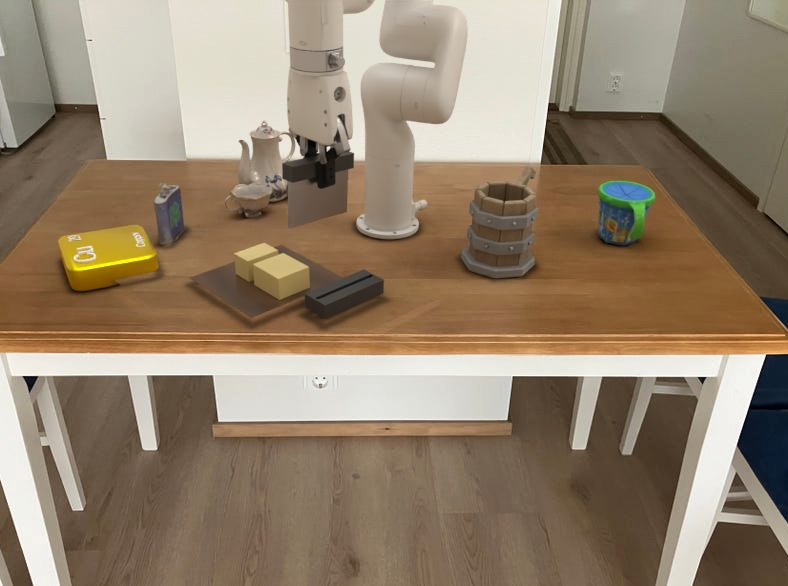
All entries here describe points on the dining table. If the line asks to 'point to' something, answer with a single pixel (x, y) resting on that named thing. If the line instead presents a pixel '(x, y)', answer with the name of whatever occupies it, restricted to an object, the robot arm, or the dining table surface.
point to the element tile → (106, 256)
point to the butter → (281, 276)
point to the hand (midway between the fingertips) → (319, 182)
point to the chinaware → (261, 172)
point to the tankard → (502, 228)
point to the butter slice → (252, 259)
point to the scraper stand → (344, 293)
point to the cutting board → (251, 296)
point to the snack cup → (623, 211)
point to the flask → (169, 214)
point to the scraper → (315, 190)
